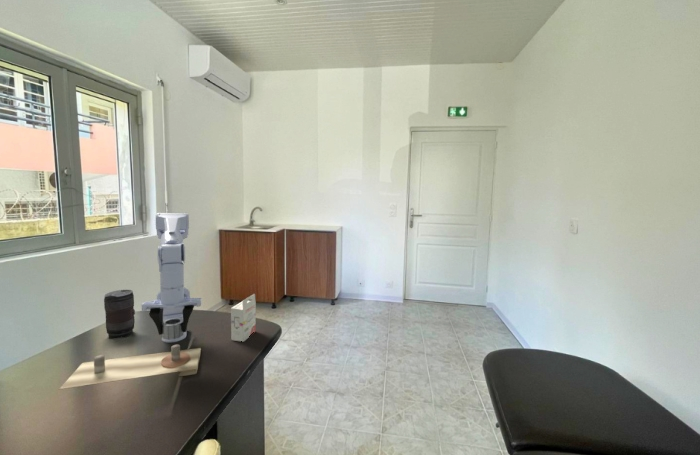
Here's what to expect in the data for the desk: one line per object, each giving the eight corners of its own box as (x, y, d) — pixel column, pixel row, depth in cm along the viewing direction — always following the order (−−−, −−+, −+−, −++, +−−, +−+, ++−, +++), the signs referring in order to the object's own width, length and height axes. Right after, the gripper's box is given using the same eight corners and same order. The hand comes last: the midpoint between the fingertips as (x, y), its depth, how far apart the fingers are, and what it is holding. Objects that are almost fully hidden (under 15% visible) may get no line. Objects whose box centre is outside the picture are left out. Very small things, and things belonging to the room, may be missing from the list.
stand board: (82, 367, 84) (81, 347, 84) (200, 352, 95) (200, 334, 95) (59, 394, 73) (58, 372, 73) (196, 373, 84) (196, 353, 83)
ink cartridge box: (243, 329, 112) (244, 291, 110) (255, 331, 111) (256, 293, 109) (230, 340, 104) (230, 299, 102) (243, 342, 103) (243, 301, 101)
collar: (164, 331, 88) (164, 318, 87) (185, 329, 90) (185, 317, 89) (160, 340, 83) (159, 326, 82) (182, 338, 85) (181, 324, 84)
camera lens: (118, 328, 108) (116, 288, 106) (140, 329, 108) (139, 289, 106) (99, 339, 100) (97, 296, 98) (123, 340, 100) (121, 297, 98)
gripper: (137, 292, 78) (139, 341, 80) (199, 288, 84) (199, 335, 85) (145, 284, 85) (146, 330, 86) (201, 281, 90) (202, 324, 92)
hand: (173, 331), depth 86 cm, fingers closed on collar, 5 cm apart
